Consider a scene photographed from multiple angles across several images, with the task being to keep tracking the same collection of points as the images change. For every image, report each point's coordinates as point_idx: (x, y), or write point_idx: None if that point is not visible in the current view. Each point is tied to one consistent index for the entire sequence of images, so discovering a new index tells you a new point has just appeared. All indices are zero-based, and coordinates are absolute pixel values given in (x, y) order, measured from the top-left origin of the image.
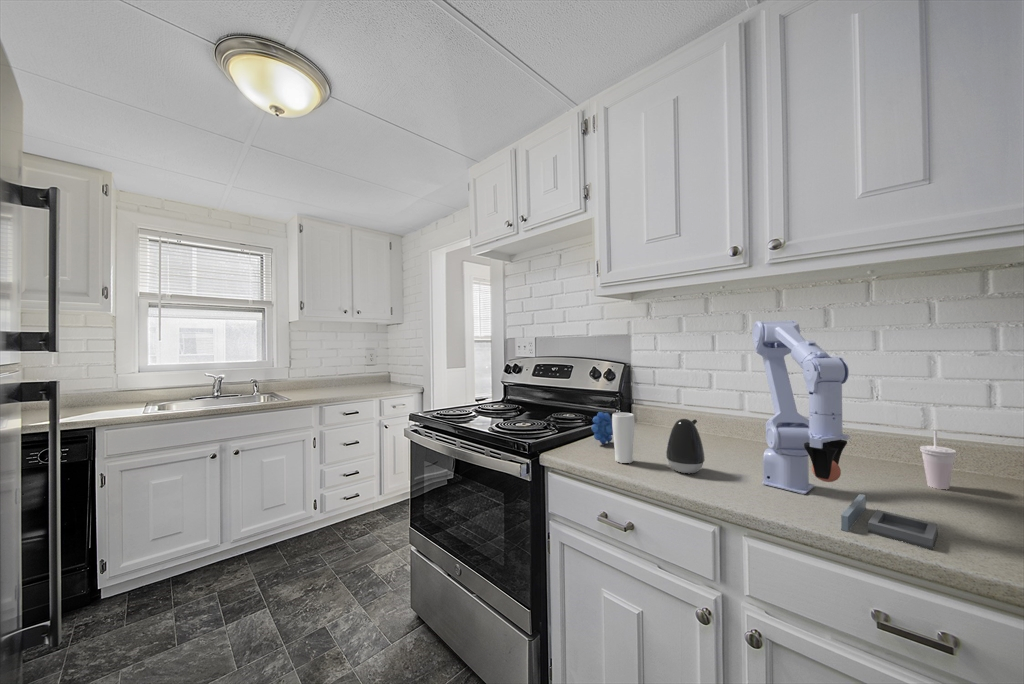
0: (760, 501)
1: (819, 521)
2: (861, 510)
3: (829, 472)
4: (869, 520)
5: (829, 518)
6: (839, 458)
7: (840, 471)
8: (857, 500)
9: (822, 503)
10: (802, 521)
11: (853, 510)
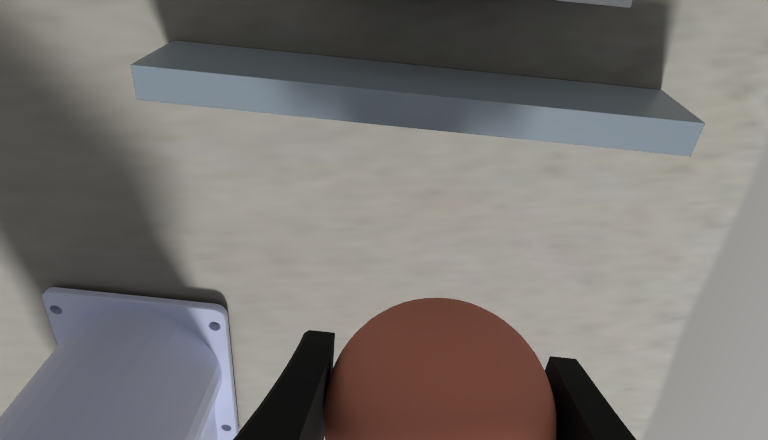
0: None
1: (578, 213)
2: (294, 59)
3: (609, 407)
4: (583, 2)
5: (500, 181)
6: (255, 436)
7: (451, 338)
8: (304, 100)
9: (283, 229)
10: (626, 269)
11: (532, 104)
